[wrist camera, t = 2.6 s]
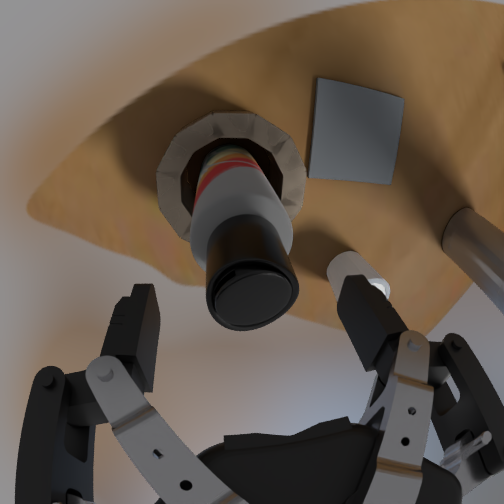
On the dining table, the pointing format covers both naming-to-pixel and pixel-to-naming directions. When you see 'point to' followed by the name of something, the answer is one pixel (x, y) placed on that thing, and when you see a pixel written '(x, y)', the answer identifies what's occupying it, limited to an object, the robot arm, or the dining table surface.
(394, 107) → the rubber mat
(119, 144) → the dining table surface
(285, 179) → the collar
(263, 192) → the lotion bottle
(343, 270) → the white cylinder
